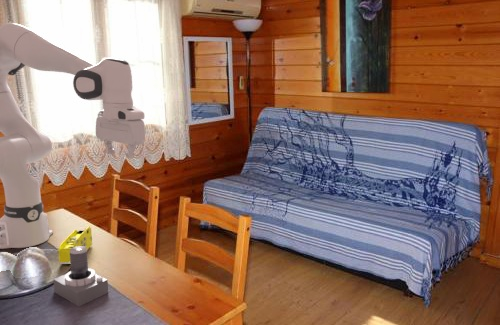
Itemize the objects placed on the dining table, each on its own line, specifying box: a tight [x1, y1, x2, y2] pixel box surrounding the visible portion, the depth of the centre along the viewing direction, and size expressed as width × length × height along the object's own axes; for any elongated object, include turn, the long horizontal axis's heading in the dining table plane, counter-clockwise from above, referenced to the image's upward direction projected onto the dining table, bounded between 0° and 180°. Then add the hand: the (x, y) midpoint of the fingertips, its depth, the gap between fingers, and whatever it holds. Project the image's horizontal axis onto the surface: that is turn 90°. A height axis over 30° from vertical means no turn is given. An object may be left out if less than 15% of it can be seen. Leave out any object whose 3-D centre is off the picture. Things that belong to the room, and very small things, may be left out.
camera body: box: [53, 267, 109, 307], centre depth 115 cm, size 12×9×6 cm
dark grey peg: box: [70, 246, 89, 280], centre depth 114 cm, size 4×4×9 cm
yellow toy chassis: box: [58, 226, 93, 264], centre depth 138 cm, size 16×6×8 cm, turn 2°
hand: (120, 155), depth 130 cm, fingers open, 8 cm apart
